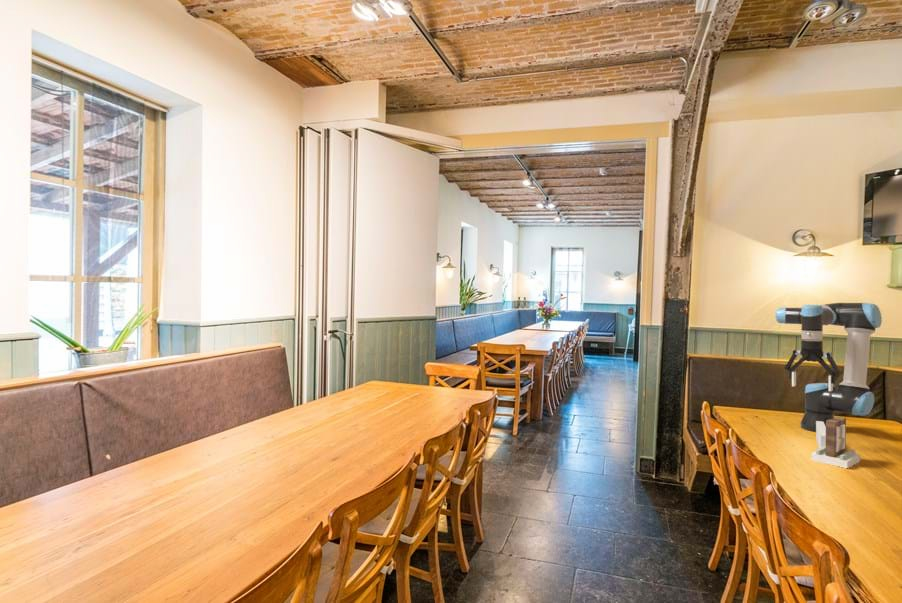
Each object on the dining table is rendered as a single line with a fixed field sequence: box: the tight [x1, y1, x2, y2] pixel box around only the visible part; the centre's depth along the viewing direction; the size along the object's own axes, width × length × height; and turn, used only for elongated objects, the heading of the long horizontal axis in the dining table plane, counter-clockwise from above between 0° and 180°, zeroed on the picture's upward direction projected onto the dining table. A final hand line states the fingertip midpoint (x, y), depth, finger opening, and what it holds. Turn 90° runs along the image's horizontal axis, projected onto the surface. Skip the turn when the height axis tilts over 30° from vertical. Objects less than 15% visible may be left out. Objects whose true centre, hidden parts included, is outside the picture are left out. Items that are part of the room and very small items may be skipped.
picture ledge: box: [810, 446, 861, 469], centre depth 201 cm, size 14×12×4 cm
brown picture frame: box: [825, 416, 847, 458], centre depth 201 cm, size 12×4×14 cm, turn 124°
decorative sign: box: [815, 421, 826, 449], centre depth 220 cm, size 32×4×10 cm, turn 147°
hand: (811, 388), depth 216 cm, fingers open, 13 cm apart
